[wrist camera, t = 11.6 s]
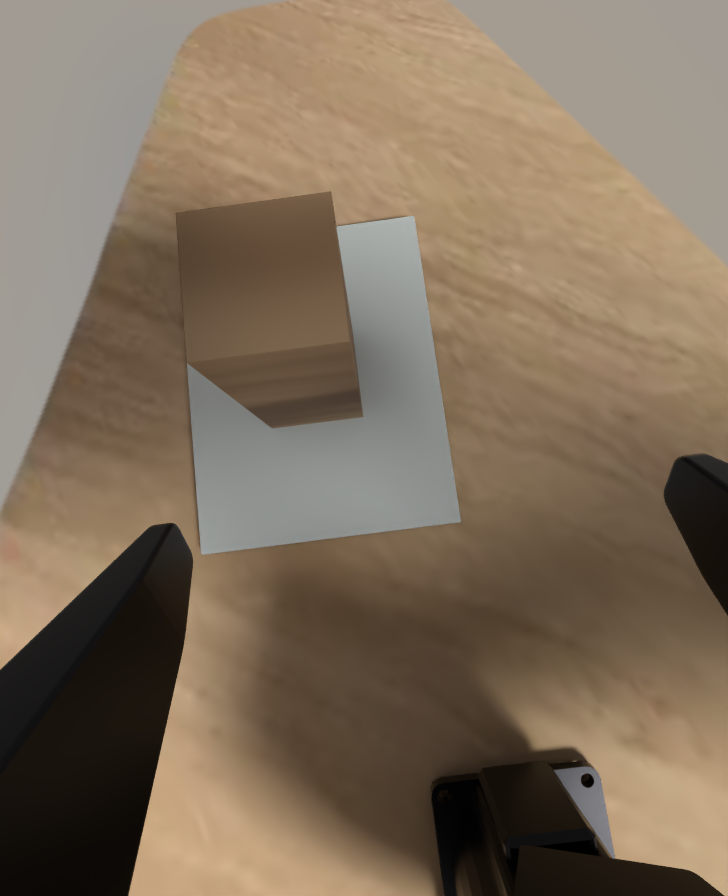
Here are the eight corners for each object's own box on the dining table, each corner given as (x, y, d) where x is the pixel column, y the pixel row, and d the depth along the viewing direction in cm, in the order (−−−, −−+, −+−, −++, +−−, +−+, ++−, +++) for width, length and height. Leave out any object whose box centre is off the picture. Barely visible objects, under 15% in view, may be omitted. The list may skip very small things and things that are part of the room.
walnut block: (363, 416, 20) (349, 341, 11) (272, 428, 20) (186, 362, 11) (352, 329, 21) (330, 191, 12) (263, 341, 21) (176, 213, 12)
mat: (458, 521, 20) (461, 522, 19) (205, 554, 20) (201, 554, 20) (413, 222, 22) (414, 215, 21) (182, 254, 22) (178, 248, 22)
